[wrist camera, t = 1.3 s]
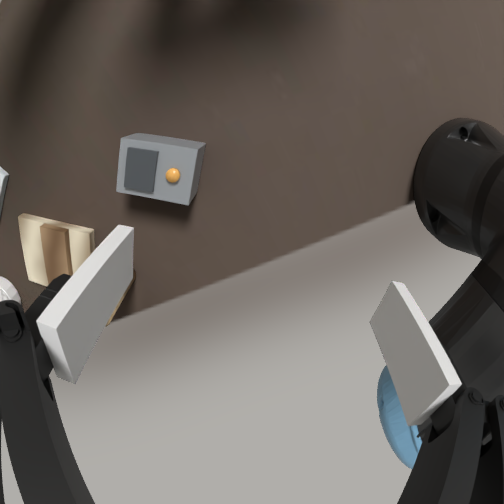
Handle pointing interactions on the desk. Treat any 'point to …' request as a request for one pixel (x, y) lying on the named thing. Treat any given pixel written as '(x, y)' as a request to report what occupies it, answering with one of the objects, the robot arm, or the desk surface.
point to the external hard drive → (2, 186)
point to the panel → (53, 247)
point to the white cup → (8, 291)
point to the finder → (160, 167)
